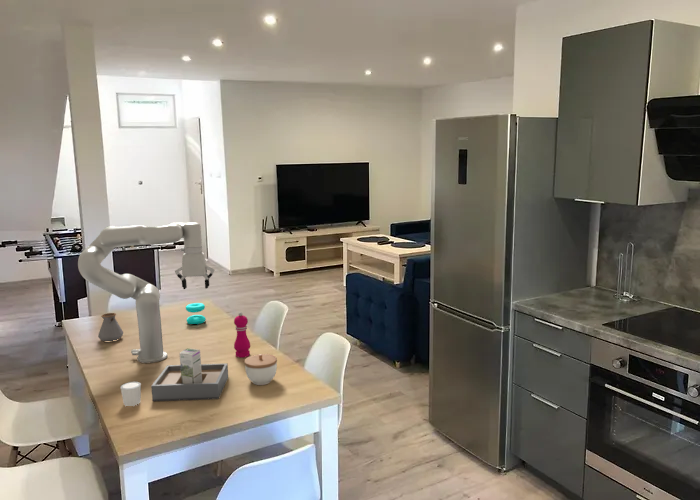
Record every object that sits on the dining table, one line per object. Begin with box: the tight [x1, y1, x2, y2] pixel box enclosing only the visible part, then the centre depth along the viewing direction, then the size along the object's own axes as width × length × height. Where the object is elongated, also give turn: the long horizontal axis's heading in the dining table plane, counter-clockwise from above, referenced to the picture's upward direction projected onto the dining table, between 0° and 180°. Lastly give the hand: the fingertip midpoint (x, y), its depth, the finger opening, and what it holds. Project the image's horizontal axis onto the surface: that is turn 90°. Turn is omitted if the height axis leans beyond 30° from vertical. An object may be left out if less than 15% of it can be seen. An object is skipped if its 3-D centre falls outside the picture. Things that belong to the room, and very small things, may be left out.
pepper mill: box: [233, 311, 251, 359], centre depth 243 cm, size 7×7×20 cm
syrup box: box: [179, 348, 202, 384], centre depth 209 cm, size 6×6×14 cm
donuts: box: [185, 302, 207, 325], centre depth 295 cm, size 10×10×10 cm
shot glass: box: [120, 381, 142, 407], centre depth 198 cm, size 7×7×7 cm
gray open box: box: [150, 363, 229, 402], centre depth 209 cm, size 24×20×6 cm
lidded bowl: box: [243, 353, 278, 386], centre depth 215 cm, size 13×13×11 cm
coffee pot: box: [97, 312, 124, 342], centre depth 264 cm, size 21×12×15 cm, turn 30°
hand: (195, 288), depth 244 cm, fingers open, 9 cm apart
